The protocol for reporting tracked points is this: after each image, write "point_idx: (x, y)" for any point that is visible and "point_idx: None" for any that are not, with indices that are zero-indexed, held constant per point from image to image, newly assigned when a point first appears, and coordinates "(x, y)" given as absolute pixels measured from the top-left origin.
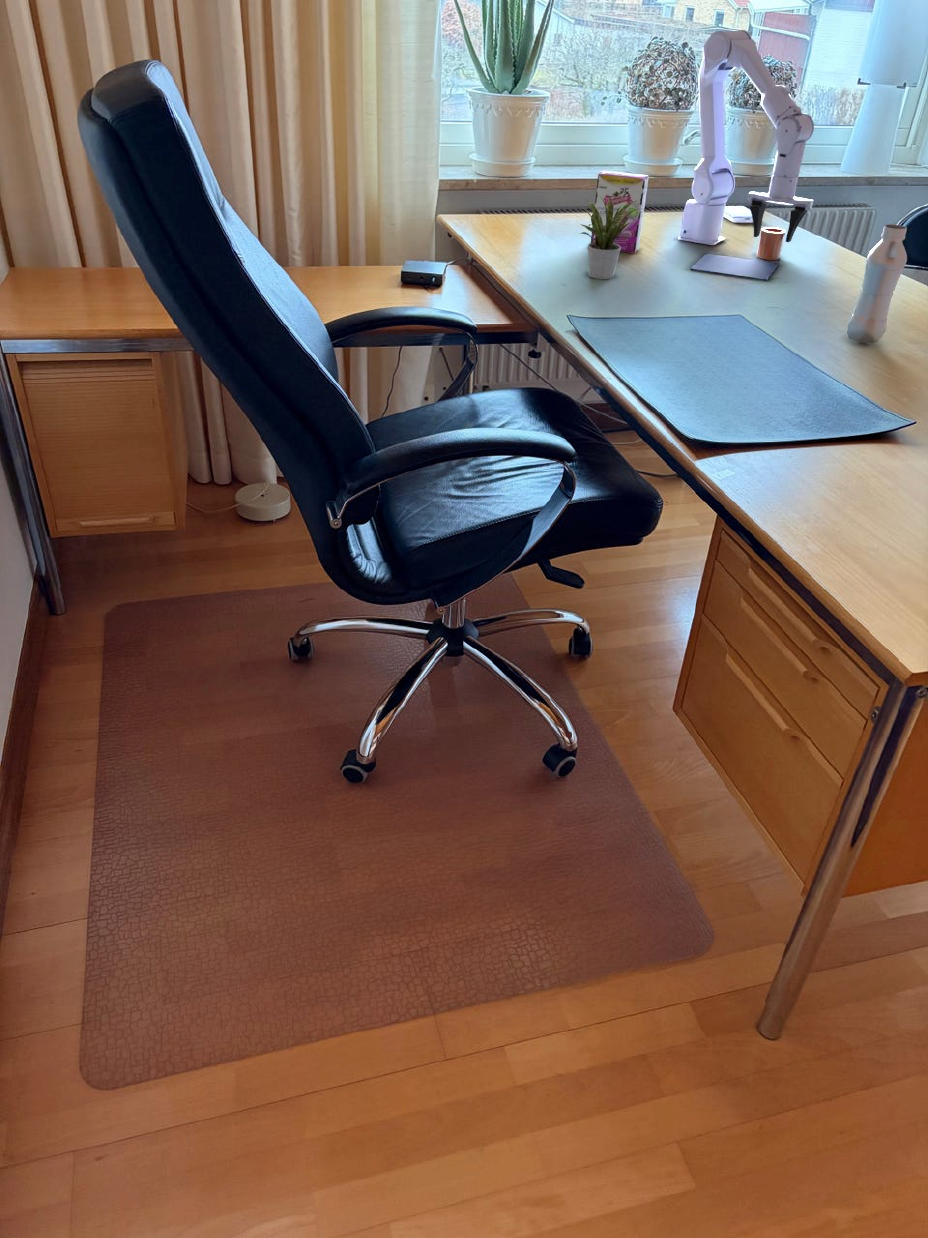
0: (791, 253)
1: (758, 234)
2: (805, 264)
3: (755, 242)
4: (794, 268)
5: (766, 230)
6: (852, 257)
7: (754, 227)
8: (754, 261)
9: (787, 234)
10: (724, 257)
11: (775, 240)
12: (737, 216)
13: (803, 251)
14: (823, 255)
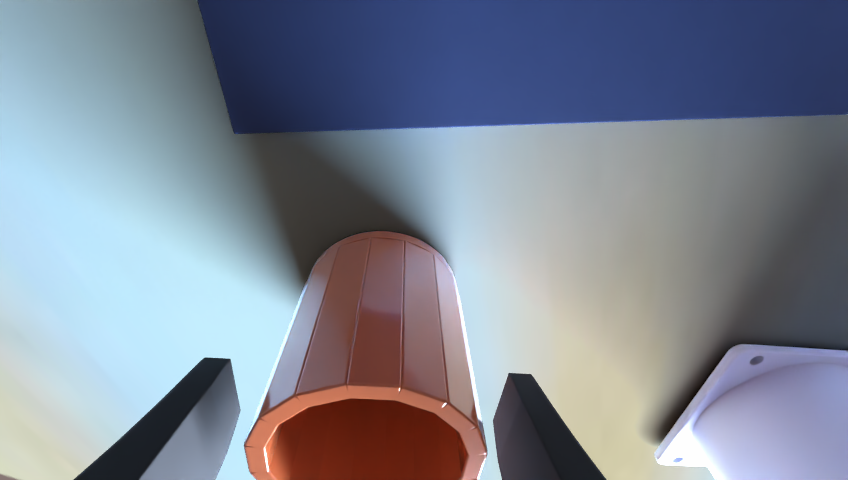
0: None
1: (499, 416)
2: (102, 251)
3: None
4: (83, 89)
5: (445, 465)
6: (32, 474)
7: (569, 439)
8: (432, 78)
9: (183, 407)
10: (700, 66)
11: (311, 331)
12: None
13: None
14: None
